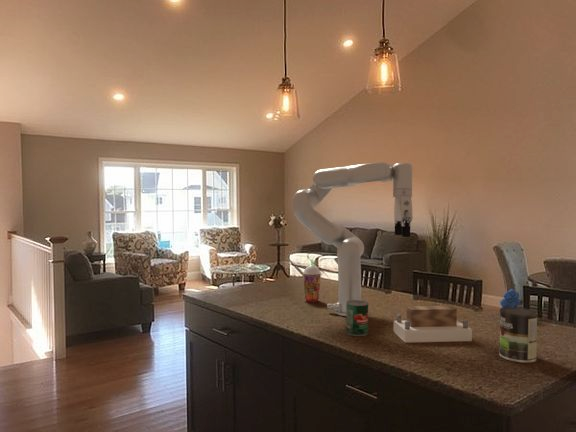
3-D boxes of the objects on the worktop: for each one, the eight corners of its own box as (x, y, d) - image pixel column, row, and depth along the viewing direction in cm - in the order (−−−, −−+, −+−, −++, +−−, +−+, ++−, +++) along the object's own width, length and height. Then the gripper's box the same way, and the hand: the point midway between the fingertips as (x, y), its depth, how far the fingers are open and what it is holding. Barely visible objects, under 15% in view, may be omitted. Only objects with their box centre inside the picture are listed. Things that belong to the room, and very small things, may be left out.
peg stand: (405, 342, 154) (405, 323, 154) (393, 331, 167) (393, 313, 167) (471, 341, 156) (472, 321, 155) (455, 330, 169) (455, 312, 168)
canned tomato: (363, 337, 160) (363, 305, 160) (342, 333, 164) (342, 303, 164) (371, 331, 167) (371, 301, 167) (351, 328, 171) (351, 299, 171)
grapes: (508, 314, 192) (509, 286, 191) (524, 318, 186) (524, 288, 186) (491, 318, 186) (491, 288, 185) (506, 322, 180) (506, 291, 180)
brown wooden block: (450, 322, 164) (450, 305, 164) (456, 326, 159) (456, 309, 159) (406, 323, 163) (406, 306, 163) (411, 327, 158) (411, 309, 158)
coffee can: (511, 363, 134) (511, 315, 134) (492, 352, 144) (493, 307, 144) (544, 362, 135) (545, 314, 134) (523, 351, 145) (524, 306, 145)
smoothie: (300, 302, 217) (300, 259, 216) (306, 298, 224) (306, 257, 224) (317, 303, 213) (317, 260, 213) (323, 300, 221) (323, 258, 221)
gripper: (419, 193, 178) (418, 237, 179) (404, 194, 195) (404, 234, 196) (399, 193, 178) (399, 237, 178) (387, 194, 195) (387, 234, 195)
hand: (402, 235), depth 187 cm, fingers open, 9 cm apart
